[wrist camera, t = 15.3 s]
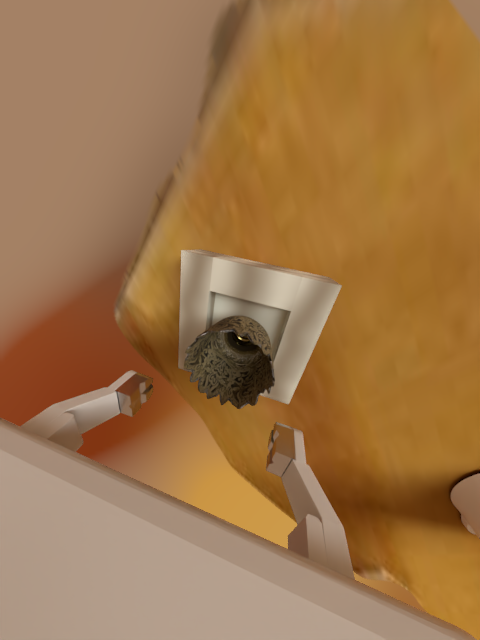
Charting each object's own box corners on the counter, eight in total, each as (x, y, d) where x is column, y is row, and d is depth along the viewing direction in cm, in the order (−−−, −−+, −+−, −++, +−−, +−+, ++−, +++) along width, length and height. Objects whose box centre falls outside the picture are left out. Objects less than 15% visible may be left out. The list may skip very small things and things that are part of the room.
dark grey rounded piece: (248, 365, 22) (231, 421, 15) (206, 328, 22) (168, 368, 15) (291, 331, 19) (296, 382, 12) (244, 286, 18) (218, 311, 11)
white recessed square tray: (328, 276, 19) (341, 285, 14) (287, 376, 25) (288, 404, 21) (203, 249, 21) (181, 250, 16) (195, 348, 27) (178, 368, 23)
